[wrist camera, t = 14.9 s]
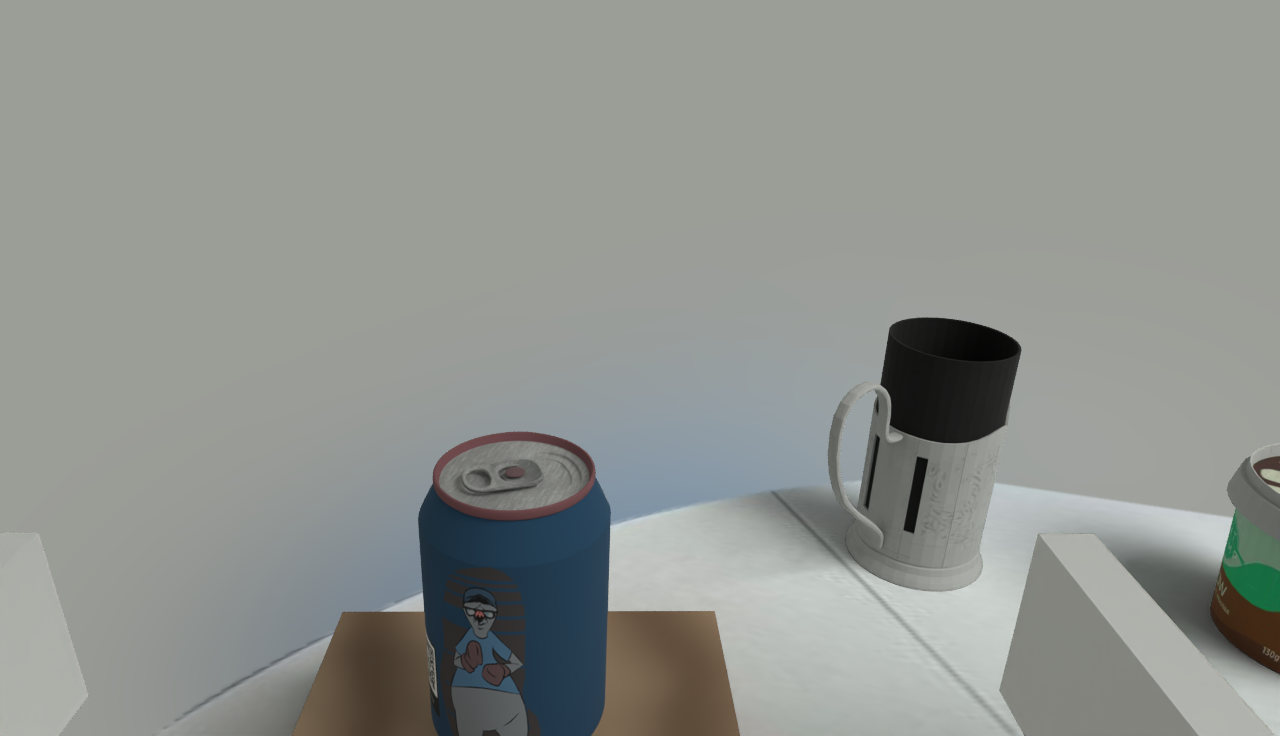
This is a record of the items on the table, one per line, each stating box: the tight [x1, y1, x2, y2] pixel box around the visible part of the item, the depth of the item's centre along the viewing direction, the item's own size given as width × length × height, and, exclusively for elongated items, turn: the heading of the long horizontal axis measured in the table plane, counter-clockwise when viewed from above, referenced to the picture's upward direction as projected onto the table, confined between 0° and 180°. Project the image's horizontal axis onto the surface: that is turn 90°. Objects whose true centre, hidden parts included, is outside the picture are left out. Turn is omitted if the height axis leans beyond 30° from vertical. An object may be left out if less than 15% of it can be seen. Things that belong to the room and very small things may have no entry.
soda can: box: [418, 432, 611, 736], centre depth 33 cm, size 7×7×12 cm
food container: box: [1210, 444, 1280, 674], centre depth 49 cm, size 12×6×10 cm, turn 156°
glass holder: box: [828, 318, 1021, 591], centre depth 52 cm, size 9×14×15 cm, turn 126°
